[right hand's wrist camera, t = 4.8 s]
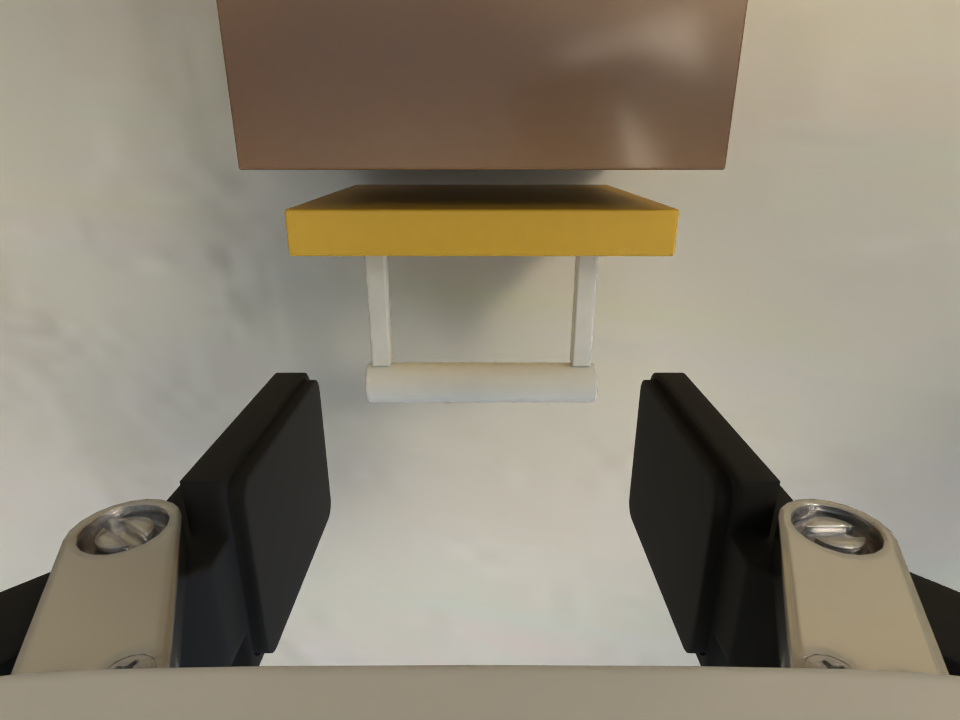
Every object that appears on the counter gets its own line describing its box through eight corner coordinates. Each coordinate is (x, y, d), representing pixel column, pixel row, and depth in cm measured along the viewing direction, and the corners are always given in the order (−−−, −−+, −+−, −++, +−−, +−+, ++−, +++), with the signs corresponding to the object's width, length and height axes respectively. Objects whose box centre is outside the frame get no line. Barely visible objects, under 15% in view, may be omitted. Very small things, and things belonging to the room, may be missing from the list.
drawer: (596, 338, 26) (654, 436, 17) (365, 338, 26) (308, 436, 17) (640, -272, 19) (774, -617, 10) (322, -272, 19) (190, -615, 10)
